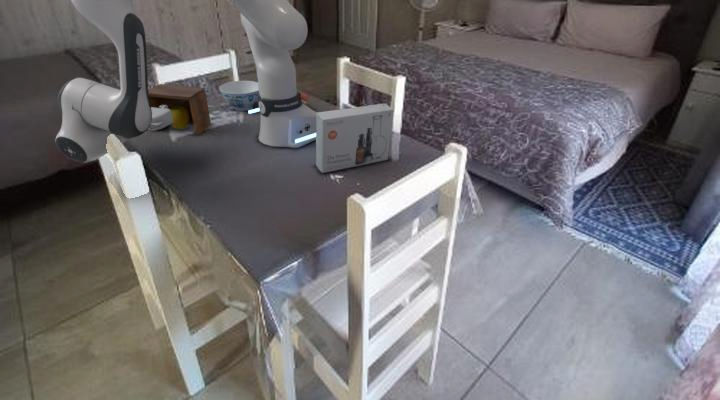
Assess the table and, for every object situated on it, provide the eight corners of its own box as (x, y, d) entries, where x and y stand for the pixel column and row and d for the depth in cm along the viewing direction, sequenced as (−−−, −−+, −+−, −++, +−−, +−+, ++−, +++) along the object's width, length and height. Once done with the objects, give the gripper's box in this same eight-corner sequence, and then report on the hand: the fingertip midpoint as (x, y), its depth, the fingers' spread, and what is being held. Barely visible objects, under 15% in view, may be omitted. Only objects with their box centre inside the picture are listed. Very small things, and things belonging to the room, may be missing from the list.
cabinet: (169, 120, 133) (160, 83, 126) (211, 124, 131) (204, 87, 125) (153, 131, 125) (142, 92, 118) (197, 135, 124) (189, 97, 117)
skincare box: (323, 174, 106) (322, 119, 97) (315, 166, 110) (314, 111, 101) (389, 160, 115) (394, 108, 106) (380, 152, 119) (384, 101, 110)
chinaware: (272, 106, 148) (271, 85, 144) (243, 118, 137) (240, 96, 133) (243, 98, 154) (241, 78, 150) (213, 108, 143) (209, 87, 139)
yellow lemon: (182, 134, 124) (176, 109, 120) (166, 130, 126) (160, 106, 122) (196, 127, 129) (192, 103, 125) (181, 123, 131) (176, 100, 127)
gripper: (152, 116, 97) (182, 98, 108) (77, 108, 99) (113, 91, 110) (158, 139, 100) (186, 120, 112) (85, 131, 102) (120, 113, 114)
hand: (149, 105), depth 111 cm, fingers open, 8 cm apart
